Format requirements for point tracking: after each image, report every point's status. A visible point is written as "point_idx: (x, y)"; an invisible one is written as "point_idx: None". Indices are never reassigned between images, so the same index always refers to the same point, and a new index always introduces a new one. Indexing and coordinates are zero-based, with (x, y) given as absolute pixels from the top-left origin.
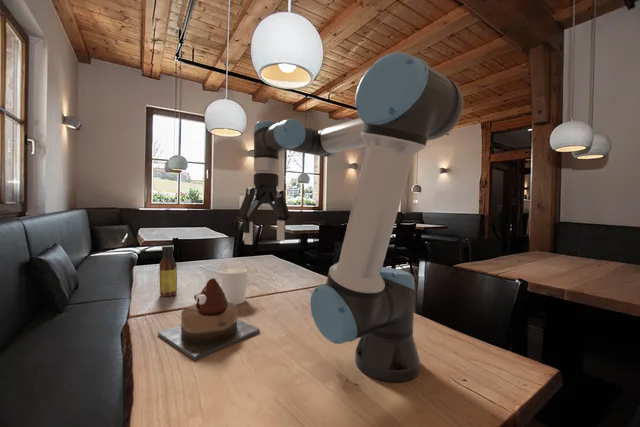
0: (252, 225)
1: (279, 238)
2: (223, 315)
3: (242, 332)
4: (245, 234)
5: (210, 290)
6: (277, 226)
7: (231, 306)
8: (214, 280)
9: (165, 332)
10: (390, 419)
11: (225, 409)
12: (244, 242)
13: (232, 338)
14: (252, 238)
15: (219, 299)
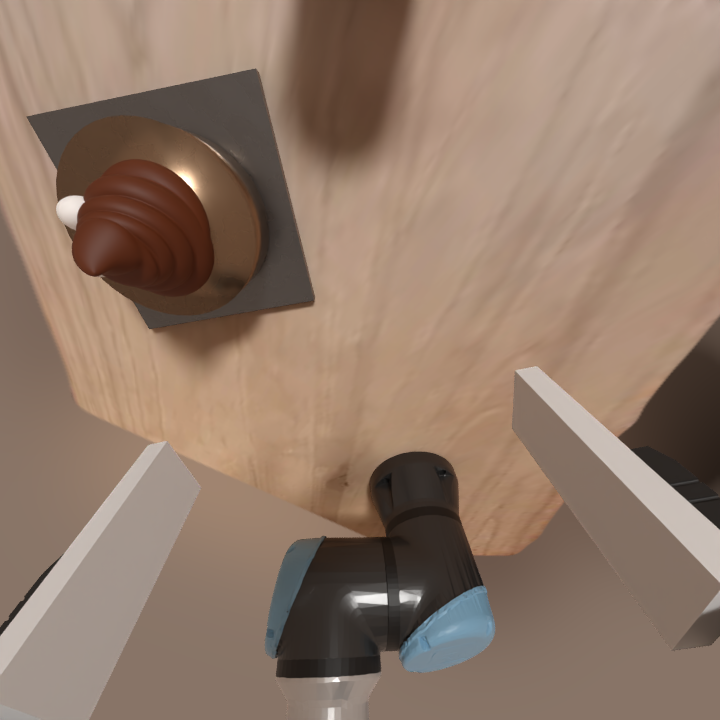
0: (108, 671)
1: (523, 407)
2: (196, 303)
3: (269, 291)
4: (104, 523)
5: (109, 278)
6: (621, 487)
7: (236, 246)
8: (101, 273)
9: (55, 141)
10: (331, 519)
11: (189, 444)
12: (142, 455)
13: (238, 305)
14: (179, 527)
15: (165, 289)
